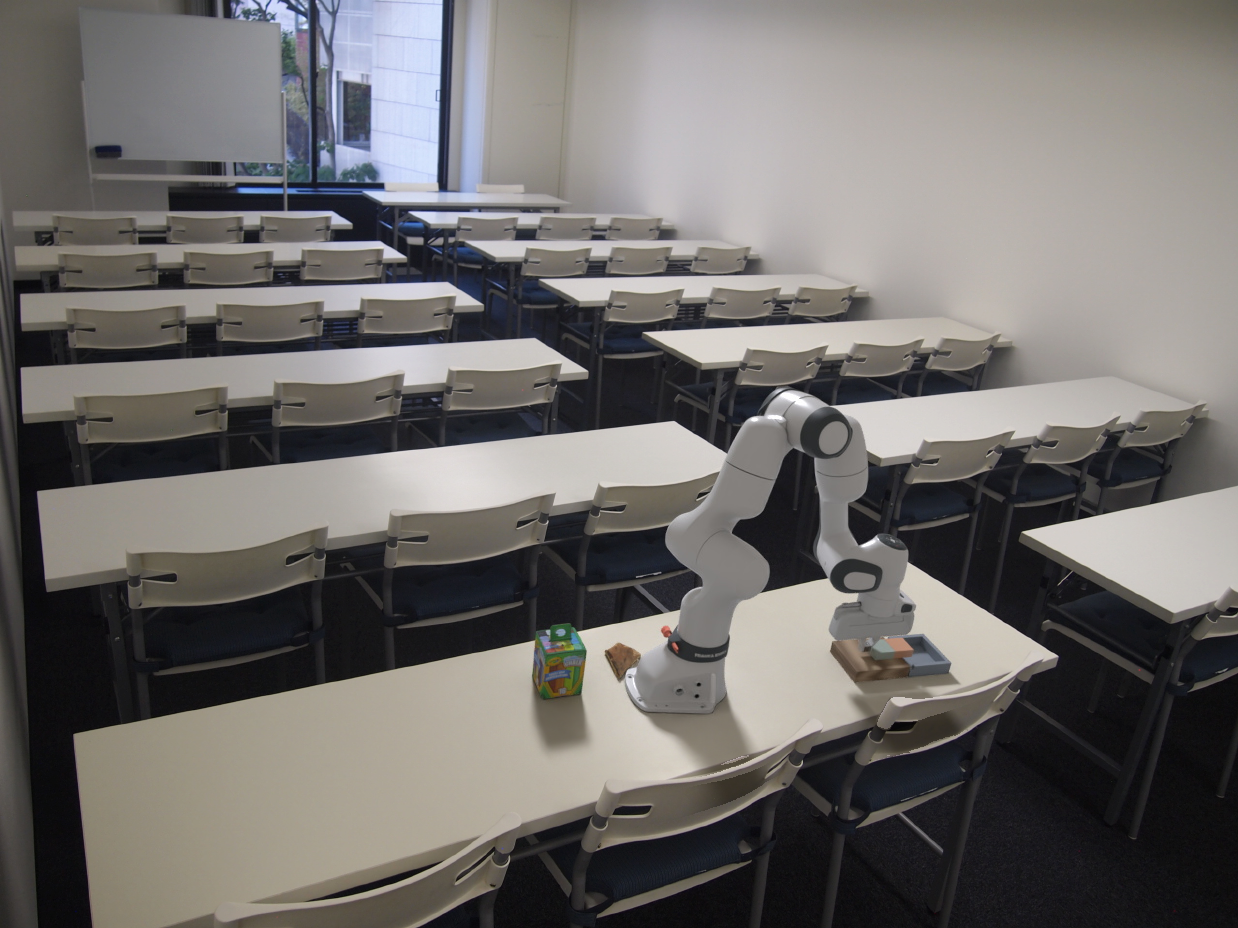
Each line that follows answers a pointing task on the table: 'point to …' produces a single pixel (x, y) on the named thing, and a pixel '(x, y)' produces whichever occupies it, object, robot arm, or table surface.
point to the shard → (621, 658)
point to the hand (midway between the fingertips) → (864, 650)
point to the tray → (924, 657)
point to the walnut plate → (866, 663)
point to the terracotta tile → (900, 647)
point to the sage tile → (882, 651)
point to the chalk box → (559, 661)
